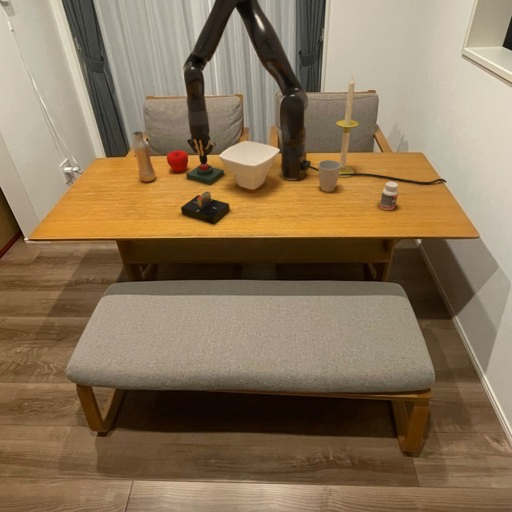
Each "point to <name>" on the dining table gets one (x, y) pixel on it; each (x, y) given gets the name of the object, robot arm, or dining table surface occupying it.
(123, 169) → the dining table surface
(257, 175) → the bowl
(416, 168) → the dining table surface
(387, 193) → the pill bottle
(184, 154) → the apple
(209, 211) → the panel
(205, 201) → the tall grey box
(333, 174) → the cup
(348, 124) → the candle
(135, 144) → the plastic bottle
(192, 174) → the dark grey base plate
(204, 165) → the button
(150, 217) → the dining table surface
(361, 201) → the dining table surface
